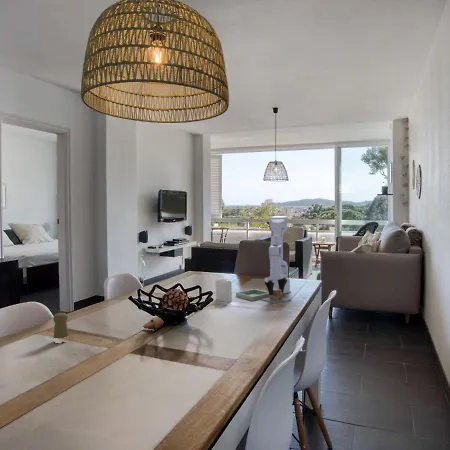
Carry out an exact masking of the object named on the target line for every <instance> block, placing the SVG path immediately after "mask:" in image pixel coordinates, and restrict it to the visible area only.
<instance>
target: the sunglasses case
mask: <svg viewBox="0 0 450 450" xmlns="http://www.w3.org/2000/svg"><path fill="white" fill-rule="evenodd" d="M163 324H164V321H163V320H162V319H161V318H159V317H157V316H155V317H153V318H151V319H150V321H148V322H146V323H145V324H143V327H144V328H148V329H154V330H156V329H158V328H159V329H161V328H162V327H163V326H164V325H163ZM161 326H162V327H161ZM159 329H158V330H159ZM156 331H157V330H156Z"/></svg>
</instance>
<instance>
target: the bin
mask: <svg viewBox="0 0 450 450" xmlns="http://www.w3.org/2000/svg"><path fill="white" fill-rule="evenodd" d="M235 297H237V298H241V299H243V300H248V301H252V302H254V301H258V300H262V299H264V298H268V297H270V295H269V292H268V291H266V290H261V289H257V288H252V289H247V290H242V291H236V292H235Z"/></svg>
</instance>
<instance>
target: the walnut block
mask: <svg viewBox="0 0 450 450" xmlns="http://www.w3.org/2000/svg"><path fill="white" fill-rule="evenodd" d="M282 295H283V294H282V290H280V289H276V288H274V289H273V295H270V299H273V300H280V299H282V297H283V296H282Z"/></svg>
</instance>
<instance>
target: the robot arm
mask: <svg viewBox="0 0 450 450" xmlns="http://www.w3.org/2000/svg"><path fill="white" fill-rule="evenodd" d="M269 227H270V230H271V231H272V232H273V235H272V236H271V237H270V246H269V247H268V256H269V264H270V265H269V272H270V275H269V276H268V277H264V285H265V286H266V289H267V292H269V295H273V289H274V288H276V289H280V290H282V295H284V294H286V293H287V294H288V293H291V288H290V287H291V285H290V278H289V277H288V276H289V267H288V263H287V262H286V261H285V260H284V244H283V243H284V233H285V232H287V231H288V230H287V229H288V217H287V215H282V216H281V215H279V216H278V215H277V216H270V217H269Z"/></svg>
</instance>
